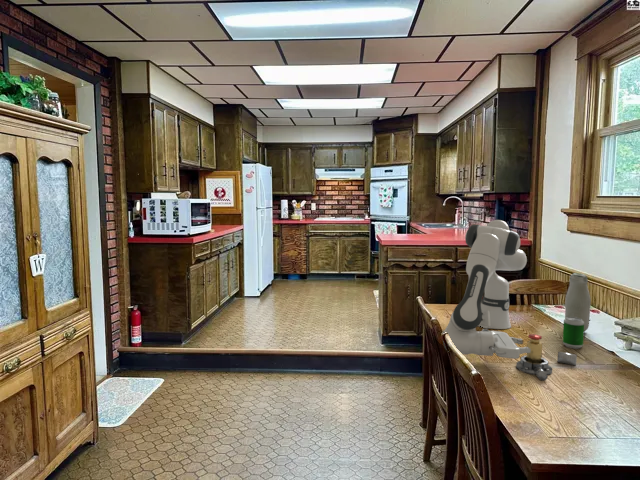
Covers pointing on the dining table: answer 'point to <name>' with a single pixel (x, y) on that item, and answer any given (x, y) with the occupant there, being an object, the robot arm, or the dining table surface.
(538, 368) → the flange fitting
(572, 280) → the grey bottle
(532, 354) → the red capped jar
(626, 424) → the dining table surface
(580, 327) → the soda can
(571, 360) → the block
